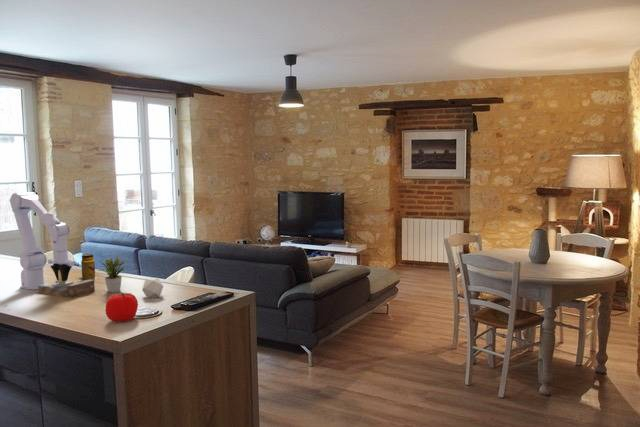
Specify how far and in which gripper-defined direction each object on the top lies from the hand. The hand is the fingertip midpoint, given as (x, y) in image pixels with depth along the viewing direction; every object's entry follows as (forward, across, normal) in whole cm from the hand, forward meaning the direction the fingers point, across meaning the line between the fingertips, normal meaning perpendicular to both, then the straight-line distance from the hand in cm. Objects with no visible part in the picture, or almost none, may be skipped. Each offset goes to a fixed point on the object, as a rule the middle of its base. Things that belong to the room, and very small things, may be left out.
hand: (62, 280), depth 236 cm
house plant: (+5, +22, +9) cm, 24 cm away
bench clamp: (+5, +2, 0) cm, 5 cm away
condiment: (+5, -10, +22) cm, 25 cm away
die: (+5, +44, +9) cm, 45 cm away
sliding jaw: (+3, 0, 0) cm, 3 cm away
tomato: (+5, +57, -21) cm, 61 cm away
